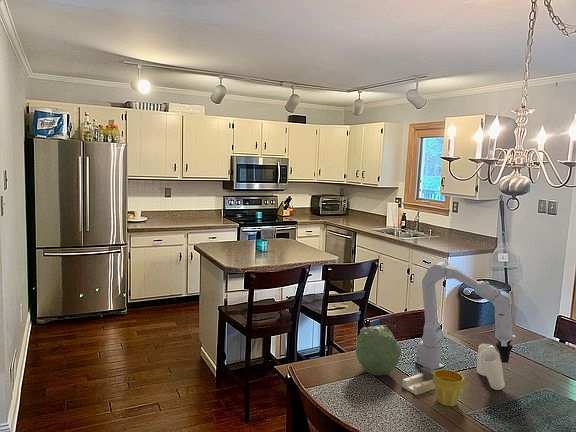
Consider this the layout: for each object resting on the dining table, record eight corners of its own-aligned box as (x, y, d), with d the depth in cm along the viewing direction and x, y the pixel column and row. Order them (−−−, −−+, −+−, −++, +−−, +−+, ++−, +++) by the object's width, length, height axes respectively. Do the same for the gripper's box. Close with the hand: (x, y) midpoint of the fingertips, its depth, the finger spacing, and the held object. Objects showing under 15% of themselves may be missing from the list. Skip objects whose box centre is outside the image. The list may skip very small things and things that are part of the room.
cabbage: (408, 376, 175) (411, 328, 173) (372, 388, 165) (376, 336, 163) (380, 361, 189) (383, 315, 186) (345, 370, 178) (348, 323, 176)
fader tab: (420, 378, 171) (421, 368, 170) (425, 376, 172) (426, 366, 172) (431, 384, 167) (431, 373, 166) (436, 382, 168) (437, 372, 168)
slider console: (402, 386, 167) (402, 379, 167) (428, 377, 175) (429, 370, 175) (416, 395, 161) (417, 387, 161) (443, 385, 169) (444, 377, 169)
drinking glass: (499, 395, 164) (491, 364, 159) (484, 386, 170) (475, 356, 165) (511, 384, 167) (503, 353, 161) (495, 375, 173) (487, 346, 167)
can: (495, 378, 177) (498, 349, 176) (478, 375, 178) (480, 347, 177) (491, 370, 183) (494, 343, 182) (474, 368, 185) (477, 341, 183)
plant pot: (434, 391, 165) (436, 366, 164) (464, 399, 160) (466, 373, 158) (428, 403, 156) (430, 377, 155) (459, 412, 151) (461, 385, 150)
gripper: (515, 330, 161) (517, 366, 162) (514, 319, 174) (516, 353, 175) (494, 328, 164) (495, 364, 165) (494, 318, 177) (496, 351, 178)
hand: (504, 358), depth 170 cm, fingers open, 7 cm apart
